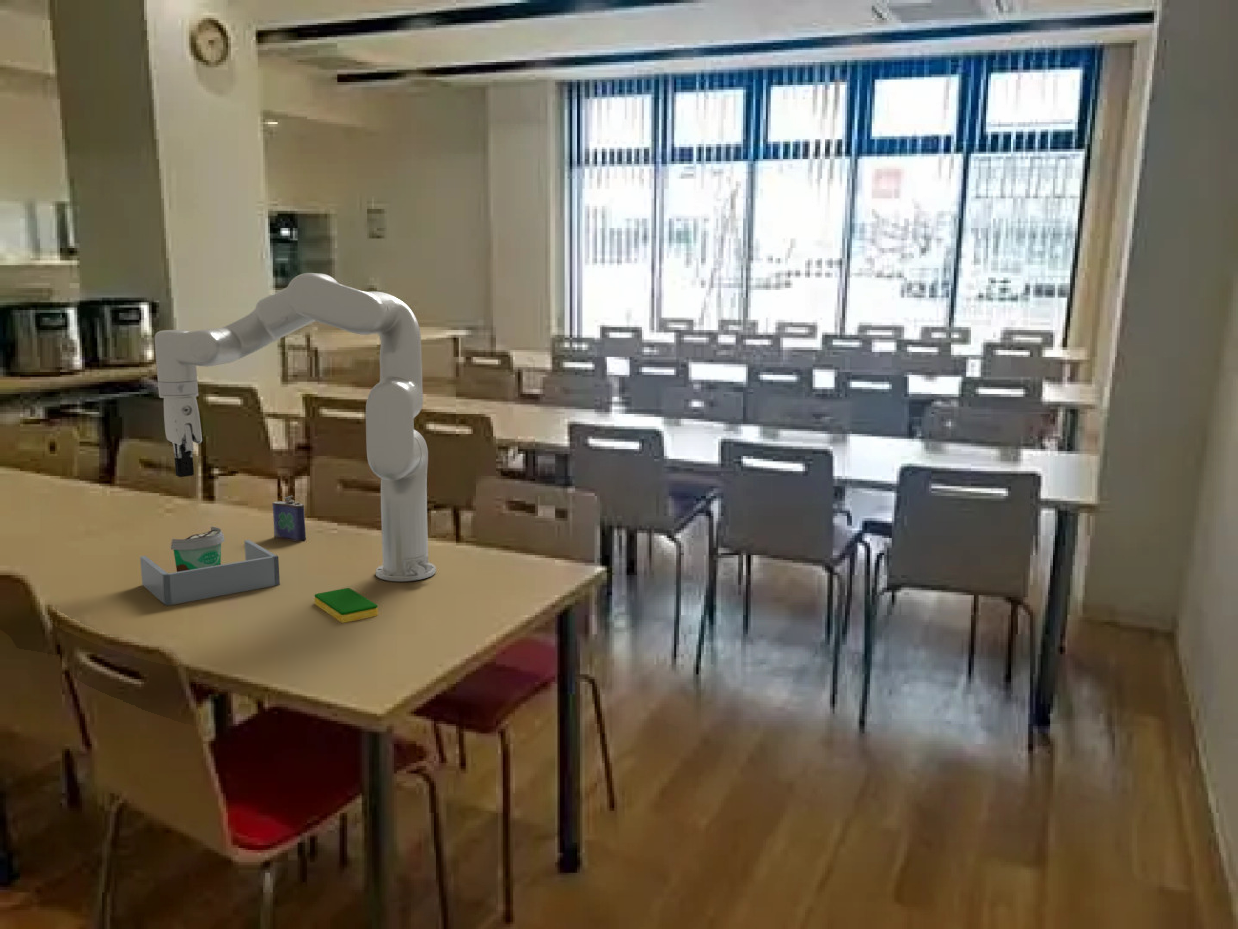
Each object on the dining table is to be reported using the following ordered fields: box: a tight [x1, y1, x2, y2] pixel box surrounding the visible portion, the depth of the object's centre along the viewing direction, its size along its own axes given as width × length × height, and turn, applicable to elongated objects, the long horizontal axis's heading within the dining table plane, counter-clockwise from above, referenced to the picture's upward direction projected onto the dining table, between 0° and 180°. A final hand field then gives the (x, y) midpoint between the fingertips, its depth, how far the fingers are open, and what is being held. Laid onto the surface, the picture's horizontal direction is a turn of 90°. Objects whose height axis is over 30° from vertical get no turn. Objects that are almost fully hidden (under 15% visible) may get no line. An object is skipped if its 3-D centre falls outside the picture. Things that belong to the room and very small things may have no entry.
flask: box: [272, 495, 307, 543], centre depth 234 cm, size 9×3×11 cm, turn 65°
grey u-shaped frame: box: [139, 539, 281, 607], centre depth 198 cm, size 17×22×6 cm
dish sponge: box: [314, 587, 379, 623], centre depth 184 cm, size 7×14×2 cm, turn 38°
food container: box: [170, 526, 225, 572], centre depth 200 cm, size 12×6×10 cm, turn 162°
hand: (185, 475), depth 205 cm, fingers closed
